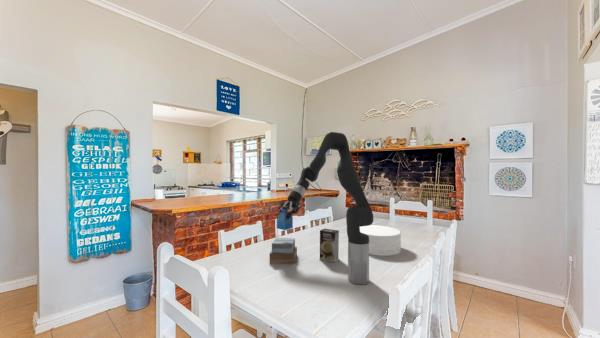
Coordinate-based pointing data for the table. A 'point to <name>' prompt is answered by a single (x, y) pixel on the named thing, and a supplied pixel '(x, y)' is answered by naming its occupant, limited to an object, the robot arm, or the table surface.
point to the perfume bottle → (284, 220)
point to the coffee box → (329, 245)
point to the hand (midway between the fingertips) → (282, 217)
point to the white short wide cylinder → (382, 239)
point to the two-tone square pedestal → (283, 251)
